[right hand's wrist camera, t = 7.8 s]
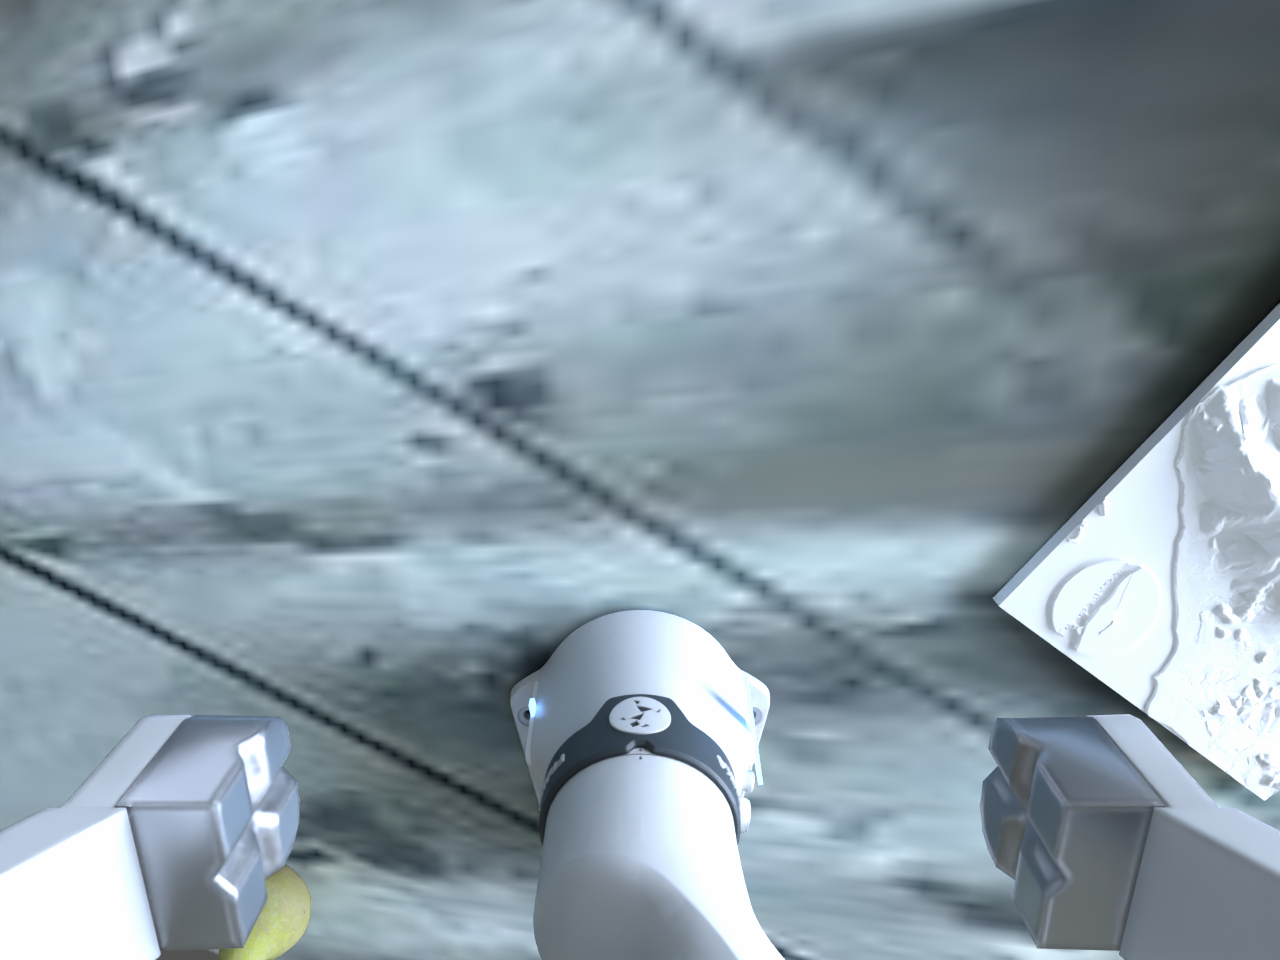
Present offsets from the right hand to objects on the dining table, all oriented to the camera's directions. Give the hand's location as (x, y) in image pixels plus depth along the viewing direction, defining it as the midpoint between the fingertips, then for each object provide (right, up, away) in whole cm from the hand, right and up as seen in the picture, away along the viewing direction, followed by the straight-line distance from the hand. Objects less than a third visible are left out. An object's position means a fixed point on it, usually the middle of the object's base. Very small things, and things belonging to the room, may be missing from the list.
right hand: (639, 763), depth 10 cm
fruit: (-28, -28, +61) cm, 73 cm away
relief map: (+46, +1, +51) cm, 69 cm away
